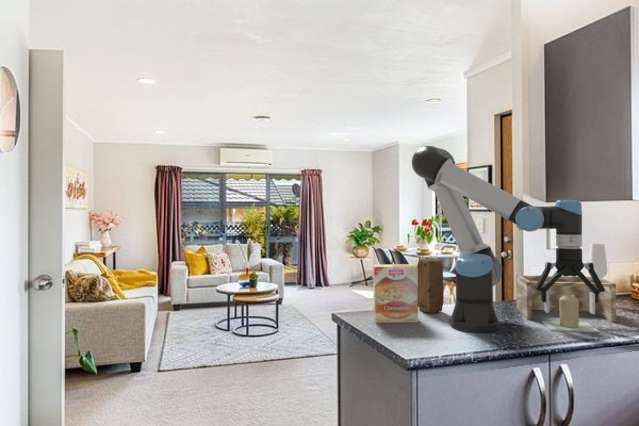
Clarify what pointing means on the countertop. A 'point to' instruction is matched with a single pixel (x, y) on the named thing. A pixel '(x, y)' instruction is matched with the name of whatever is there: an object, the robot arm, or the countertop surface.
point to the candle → (569, 311)
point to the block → (430, 285)
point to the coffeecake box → (395, 293)
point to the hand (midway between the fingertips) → (569, 312)
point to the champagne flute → (598, 259)
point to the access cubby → (570, 285)
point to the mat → (581, 328)
